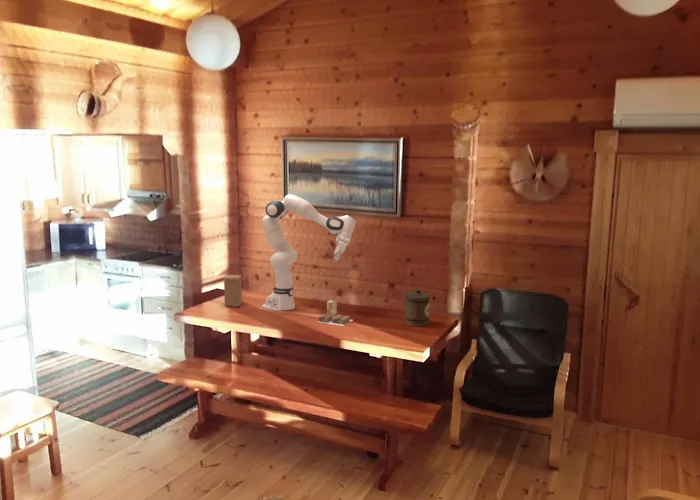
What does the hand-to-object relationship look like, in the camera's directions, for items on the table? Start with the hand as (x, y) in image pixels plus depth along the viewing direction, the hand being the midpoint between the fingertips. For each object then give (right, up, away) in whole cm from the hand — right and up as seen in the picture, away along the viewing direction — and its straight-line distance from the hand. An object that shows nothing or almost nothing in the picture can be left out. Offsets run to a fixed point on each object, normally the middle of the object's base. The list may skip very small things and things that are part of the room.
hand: (335, 260), depth 376 cm
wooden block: (-70, -31, +27) cm, 81 cm away
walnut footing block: (-6, -36, -11) cm, 39 cm away
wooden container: (+50, -38, -10) cm, 64 cm away
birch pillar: (-3, -36, +1) cm, 36 cm away
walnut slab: (+3, -37, -13) cm, 39 cm away
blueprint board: (0, -38, -11) cm, 39 cm away
